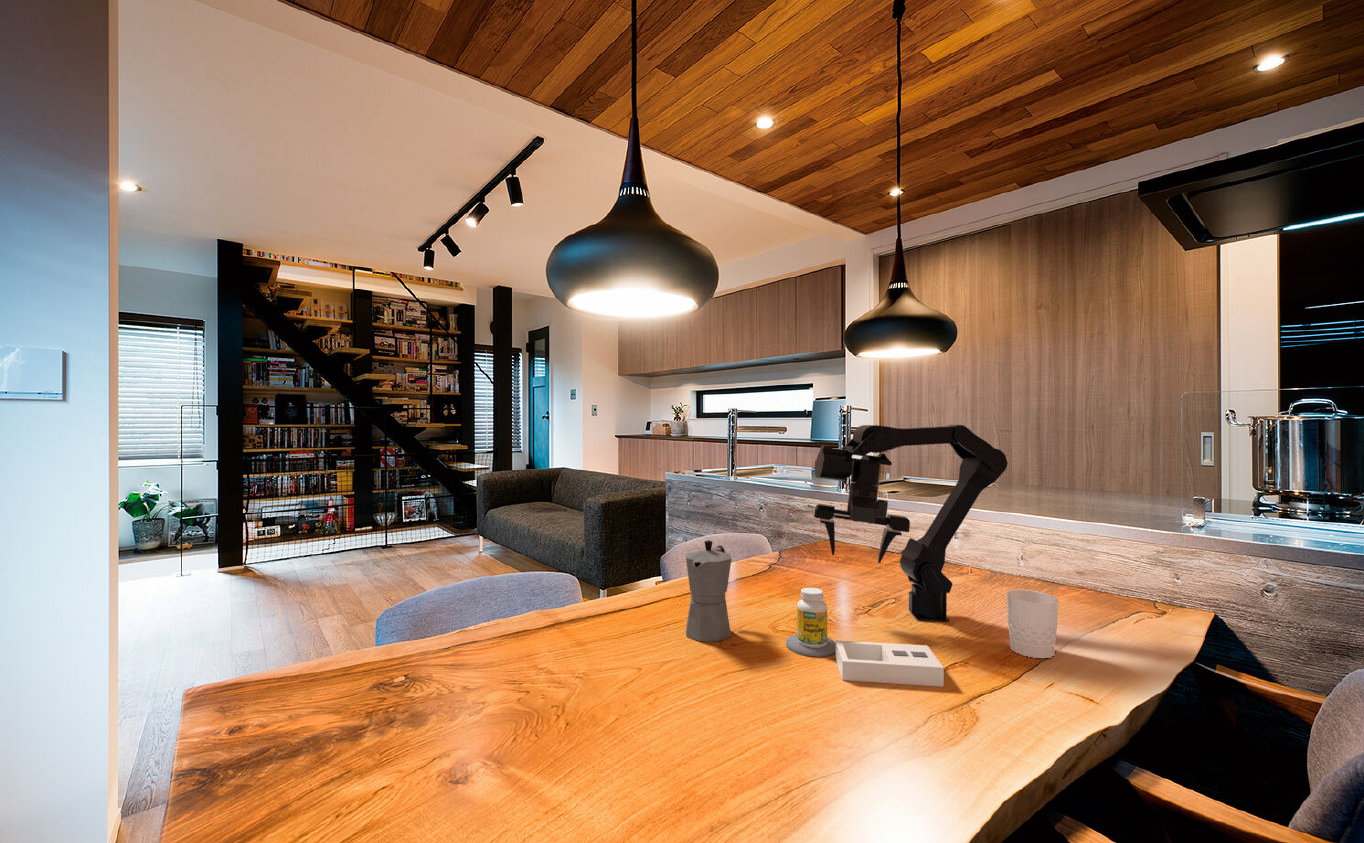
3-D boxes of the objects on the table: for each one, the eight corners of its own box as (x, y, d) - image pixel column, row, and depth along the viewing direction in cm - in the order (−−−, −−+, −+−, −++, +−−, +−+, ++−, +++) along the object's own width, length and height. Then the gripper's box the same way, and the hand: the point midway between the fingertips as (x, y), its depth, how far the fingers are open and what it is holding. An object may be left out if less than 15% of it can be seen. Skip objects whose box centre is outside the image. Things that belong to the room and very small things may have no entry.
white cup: (1017, 639, 105) (1017, 586, 105) (1065, 653, 98) (1065, 597, 98) (998, 649, 100) (998, 594, 100) (1047, 665, 94) (1047, 606, 94)
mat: (833, 638, 105) (833, 635, 105) (840, 658, 96) (840, 654, 96) (785, 635, 106) (785, 632, 106) (787, 655, 97) (787, 651, 97)
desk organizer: (927, 663, 94) (927, 644, 94) (943, 686, 86) (943, 666, 86) (835, 657, 96) (835, 639, 96) (842, 680, 88) (842, 660, 88)
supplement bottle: (823, 637, 104) (824, 586, 104) (830, 649, 98) (830, 595, 98) (794, 636, 104) (795, 585, 104) (799, 648, 99) (800, 594, 99)
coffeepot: (720, 650, 99) (720, 550, 99) (672, 641, 103) (672, 545, 103) (744, 621, 114) (744, 534, 114) (701, 615, 117) (701, 530, 117)
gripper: (818, 478, 111) (809, 556, 110) (918, 492, 106) (908, 574, 105) (819, 477, 121) (810, 548, 121) (909, 490, 117) (901, 564, 116)
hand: (855, 558), depth 115 cm, fingers open, 9 cm apart
